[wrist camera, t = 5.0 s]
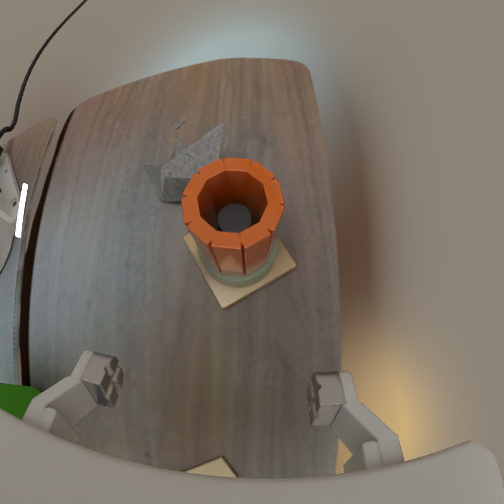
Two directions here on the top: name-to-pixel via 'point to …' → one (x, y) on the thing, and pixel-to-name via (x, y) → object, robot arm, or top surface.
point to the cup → (16, 398)
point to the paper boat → (185, 164)
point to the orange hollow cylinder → (227, 192)
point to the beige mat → (213, 468)
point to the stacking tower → (240, 287)
